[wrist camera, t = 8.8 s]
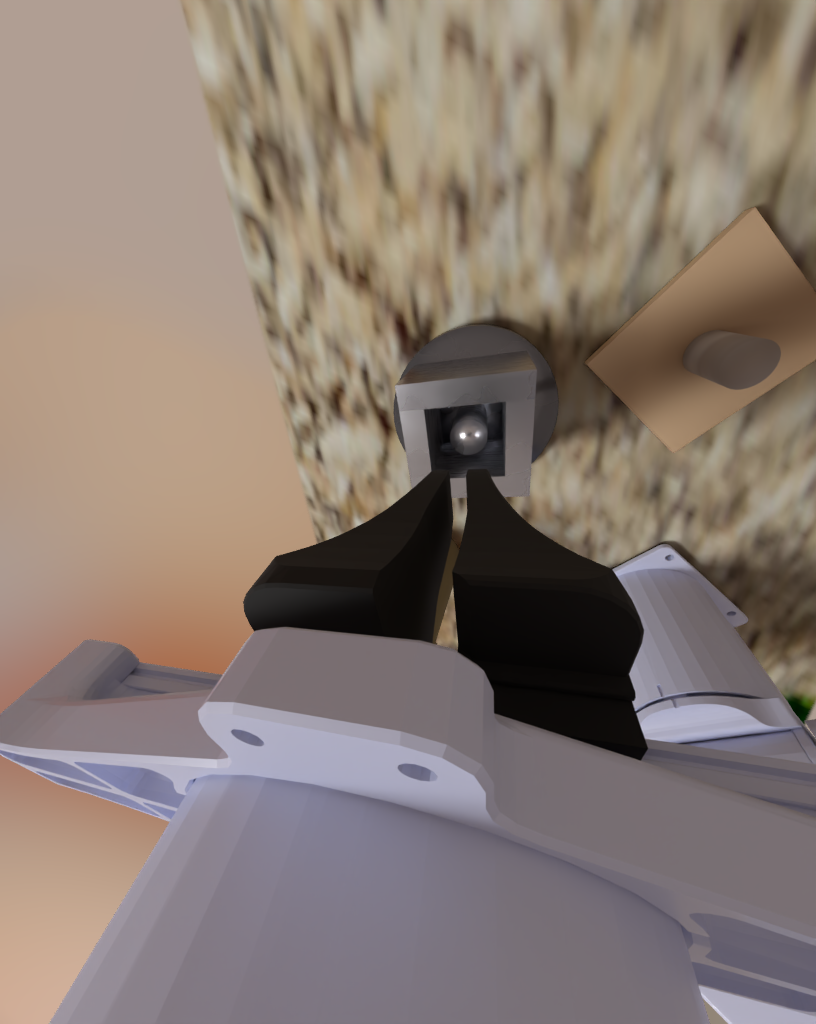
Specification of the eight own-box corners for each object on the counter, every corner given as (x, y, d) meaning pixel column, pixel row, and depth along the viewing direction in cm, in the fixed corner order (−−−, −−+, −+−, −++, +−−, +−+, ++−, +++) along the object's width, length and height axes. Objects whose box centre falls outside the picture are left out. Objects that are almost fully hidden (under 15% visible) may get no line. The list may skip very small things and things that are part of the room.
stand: (836, 336, 14) (926, 349, 11) (668, 448, 18) (702, 479, 15) (744, 210, 13) (821, 186, 10) (583, 362, 16) (604, 378, 14)
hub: (592, 403, 17) (615, 429, 14) (474, 503, 22) (472, 539, 19) (468, 280, 16) (462, 278, 12) (370, 419, 21) (348, 444, 17)
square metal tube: (526, 350, 16) (536, 369, 12) (521, 456, 19) (529, 496, 15) (414, 365, 17) (394, 385, 14) (427, 460, 20) (413, 498, 17)
